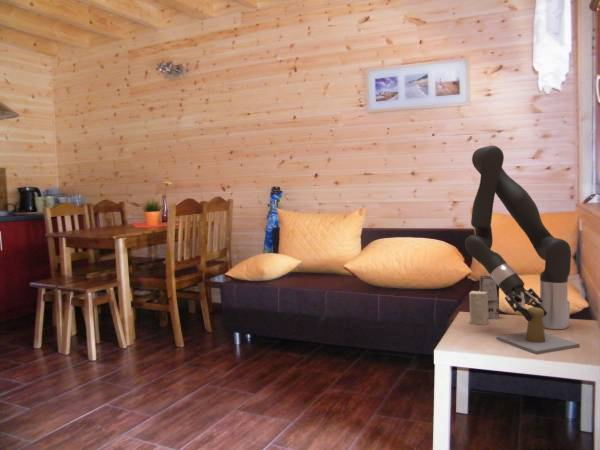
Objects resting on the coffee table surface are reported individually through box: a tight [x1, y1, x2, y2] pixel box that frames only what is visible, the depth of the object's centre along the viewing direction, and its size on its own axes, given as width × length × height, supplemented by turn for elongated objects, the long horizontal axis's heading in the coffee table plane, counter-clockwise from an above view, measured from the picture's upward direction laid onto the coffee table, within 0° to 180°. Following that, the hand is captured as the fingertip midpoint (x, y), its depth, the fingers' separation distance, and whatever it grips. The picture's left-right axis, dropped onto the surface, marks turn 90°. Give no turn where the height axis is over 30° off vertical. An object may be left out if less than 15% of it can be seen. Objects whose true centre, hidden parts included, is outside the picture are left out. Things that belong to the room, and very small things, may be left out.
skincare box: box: [468, 290, 489, 326], centre depth 201 cm, size 6×4×12 cm
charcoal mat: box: [495, 331, 580, 355], centre depth 174 cm, size 18×18×1 cm
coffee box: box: [479, 275, 500, 320], centre depth 211 cm, size 9×6×16 cm
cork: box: [526, 306, 545, 343], centre depth 174 cm, size 6×6×11 cm
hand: (538, 317), depth 173 cm, fingers open, 8 cm apart
